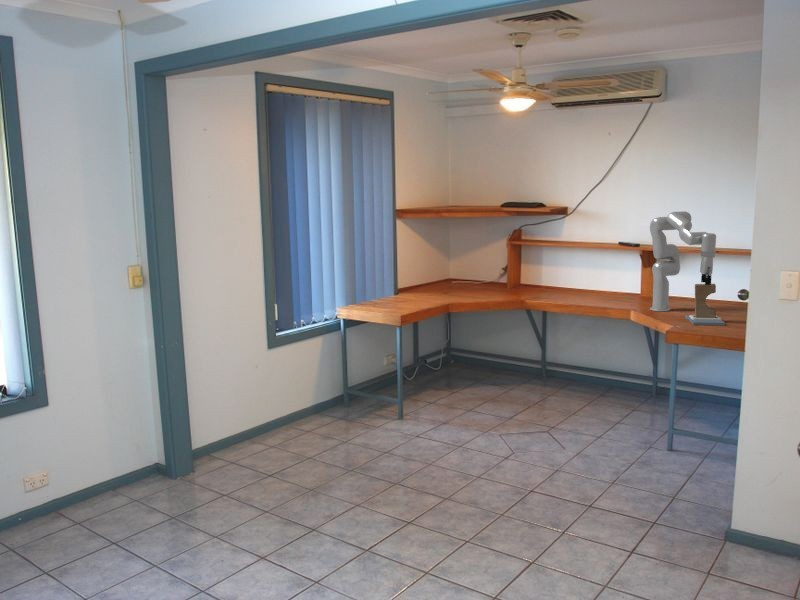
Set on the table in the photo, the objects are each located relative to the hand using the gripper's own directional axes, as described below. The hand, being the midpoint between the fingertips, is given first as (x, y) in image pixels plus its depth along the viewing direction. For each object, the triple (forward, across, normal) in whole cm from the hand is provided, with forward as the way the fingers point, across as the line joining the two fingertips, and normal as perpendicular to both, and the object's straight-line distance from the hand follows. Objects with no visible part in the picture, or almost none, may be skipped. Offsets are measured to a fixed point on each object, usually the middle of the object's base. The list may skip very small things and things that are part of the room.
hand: (705, 283), depth 399 cm
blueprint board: (+22, +2, 0) cm, 22 cm away
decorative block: (+21, +1, +1) cm, 21 cm away
